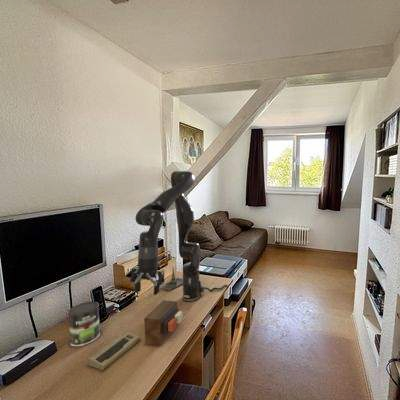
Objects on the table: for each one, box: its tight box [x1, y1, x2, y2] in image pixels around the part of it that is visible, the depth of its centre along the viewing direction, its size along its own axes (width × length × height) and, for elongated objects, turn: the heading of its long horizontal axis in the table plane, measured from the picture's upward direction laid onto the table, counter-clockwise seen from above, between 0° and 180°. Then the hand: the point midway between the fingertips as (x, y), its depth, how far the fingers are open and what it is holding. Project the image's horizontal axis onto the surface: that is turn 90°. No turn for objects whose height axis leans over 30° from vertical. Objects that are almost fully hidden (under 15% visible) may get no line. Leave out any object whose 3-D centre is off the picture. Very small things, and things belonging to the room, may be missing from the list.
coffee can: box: [67, 301, 101, 347], centre depth 96 cm, size 10×10×14 cm
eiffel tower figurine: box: [160, 266, 183, 291], centre depth 146 cm, size 15×10×13 cm
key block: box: [143, 299, 180, 347], centre depth 99 cm, size 9×14×12 cm, turn 173°
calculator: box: [90, 300, 126, 316], centre depth 120 cm, size 11×4×15 cm
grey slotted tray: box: [87, 331, 140, 371], centre depth 89 cm, size 16×8×3 cm, turn 163°
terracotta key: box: [168, 318, 178, 333], centre depth 96 cm, size 2×4×4 cm, turn 173°
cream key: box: [174, 310, 184, 324], centre depth 101 cm, size 2×4×4 cm, turn 173°
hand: (146, 292), depth 95 cm, fingers open, 8 cm apart
